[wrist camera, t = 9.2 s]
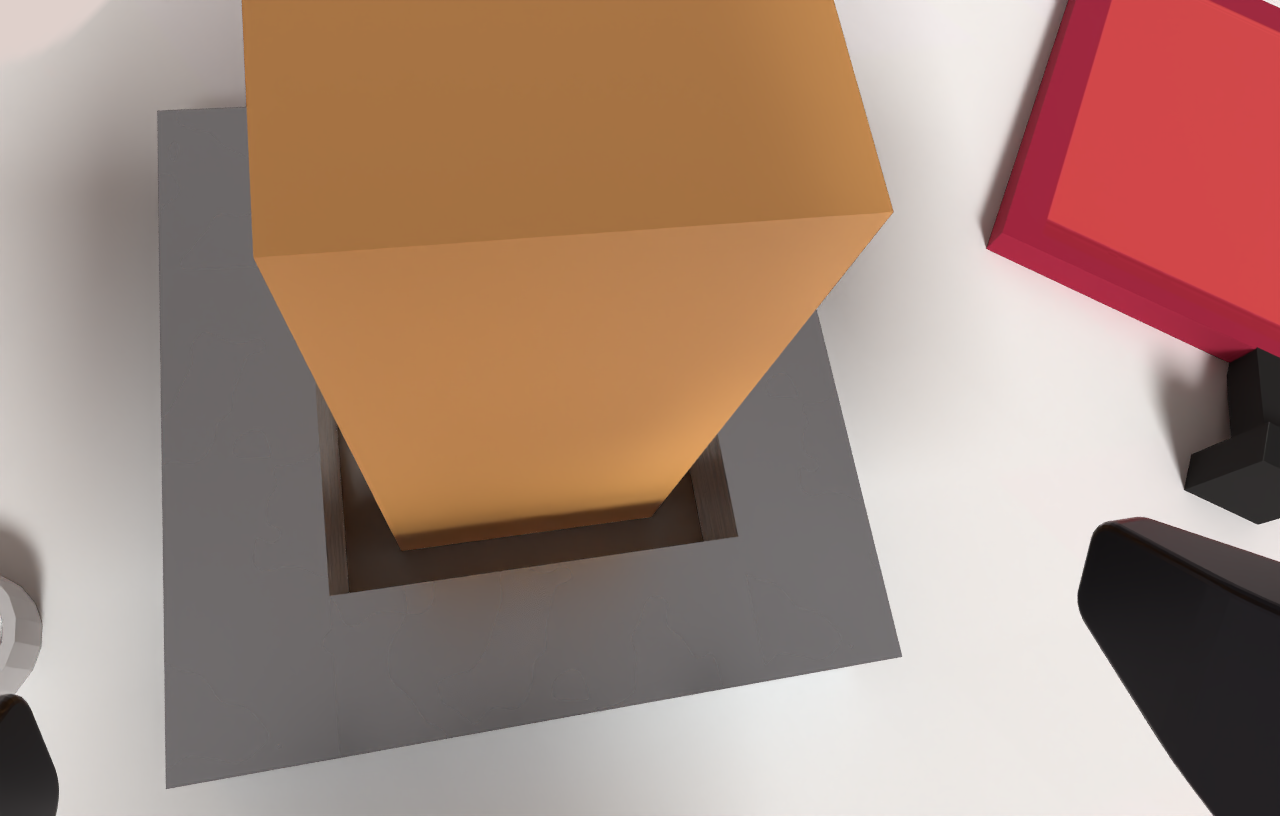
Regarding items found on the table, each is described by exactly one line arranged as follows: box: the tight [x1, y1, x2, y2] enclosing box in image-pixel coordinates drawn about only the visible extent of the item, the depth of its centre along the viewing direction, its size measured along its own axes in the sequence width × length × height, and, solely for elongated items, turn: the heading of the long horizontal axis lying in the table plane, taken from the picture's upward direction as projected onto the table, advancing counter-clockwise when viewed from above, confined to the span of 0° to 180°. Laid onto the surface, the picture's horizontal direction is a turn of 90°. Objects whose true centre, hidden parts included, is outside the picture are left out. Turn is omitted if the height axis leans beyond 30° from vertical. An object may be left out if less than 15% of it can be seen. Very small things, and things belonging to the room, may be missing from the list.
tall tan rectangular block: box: [242, 0, 893, 551], centre depth 13 cm, size 5×5×12 cm
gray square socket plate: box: [157, 107, 902, 789], centre depth 18 cm, size 12×12×2 cm
